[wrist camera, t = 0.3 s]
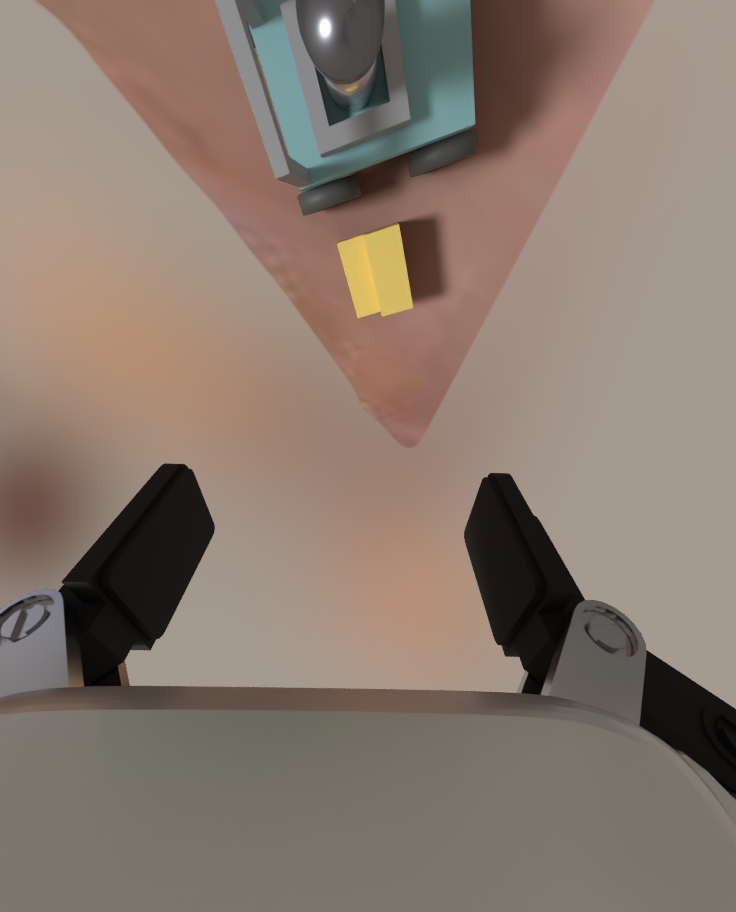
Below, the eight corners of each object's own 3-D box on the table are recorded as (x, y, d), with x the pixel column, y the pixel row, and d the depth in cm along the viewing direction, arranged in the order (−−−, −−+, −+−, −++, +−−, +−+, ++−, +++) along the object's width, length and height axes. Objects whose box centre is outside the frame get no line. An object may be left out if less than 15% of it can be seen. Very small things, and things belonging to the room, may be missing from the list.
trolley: (456, -68, 19) (560, -423, 8) (468, 157, 25) (536, 117, 15) (252, 32, 21) (132, -145, 11) (308, 215, 28) (267, 216, 17)
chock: (396, 222, 28) (399, 223, 25) (409, 298, 32) (413, 307, 29) (339, 241, 29) (334, 245, 26) (358, 313, 33) (356, 323, 30)
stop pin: (372, 12, 17) (371, -94, 11) (387, 106, 19) (393, 59, 13) (311, 41, 18) (280, -45, 12) (332, 129, 20) (315, 93, 14)
